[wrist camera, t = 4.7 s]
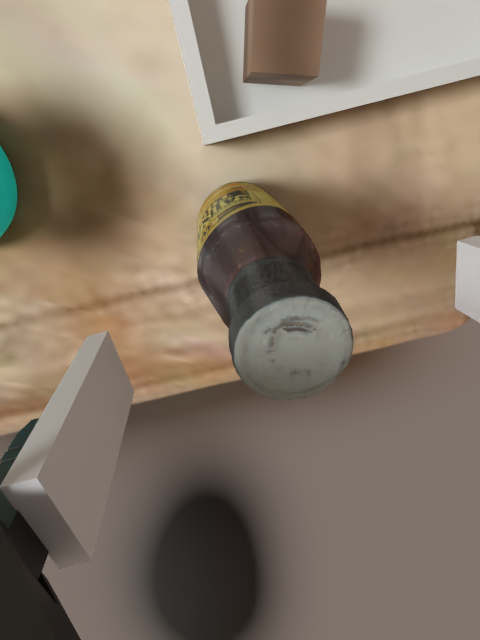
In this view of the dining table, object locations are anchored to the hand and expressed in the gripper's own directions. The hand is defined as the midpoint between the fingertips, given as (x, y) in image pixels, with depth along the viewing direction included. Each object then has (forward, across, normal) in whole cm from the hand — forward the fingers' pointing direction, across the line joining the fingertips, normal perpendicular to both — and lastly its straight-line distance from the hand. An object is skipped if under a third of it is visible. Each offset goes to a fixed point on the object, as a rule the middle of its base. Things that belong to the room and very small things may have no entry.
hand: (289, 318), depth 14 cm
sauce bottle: (+18, 0, 0) cm, 18 cm away
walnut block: (+17, +5, +11) cm, 21 cm away
